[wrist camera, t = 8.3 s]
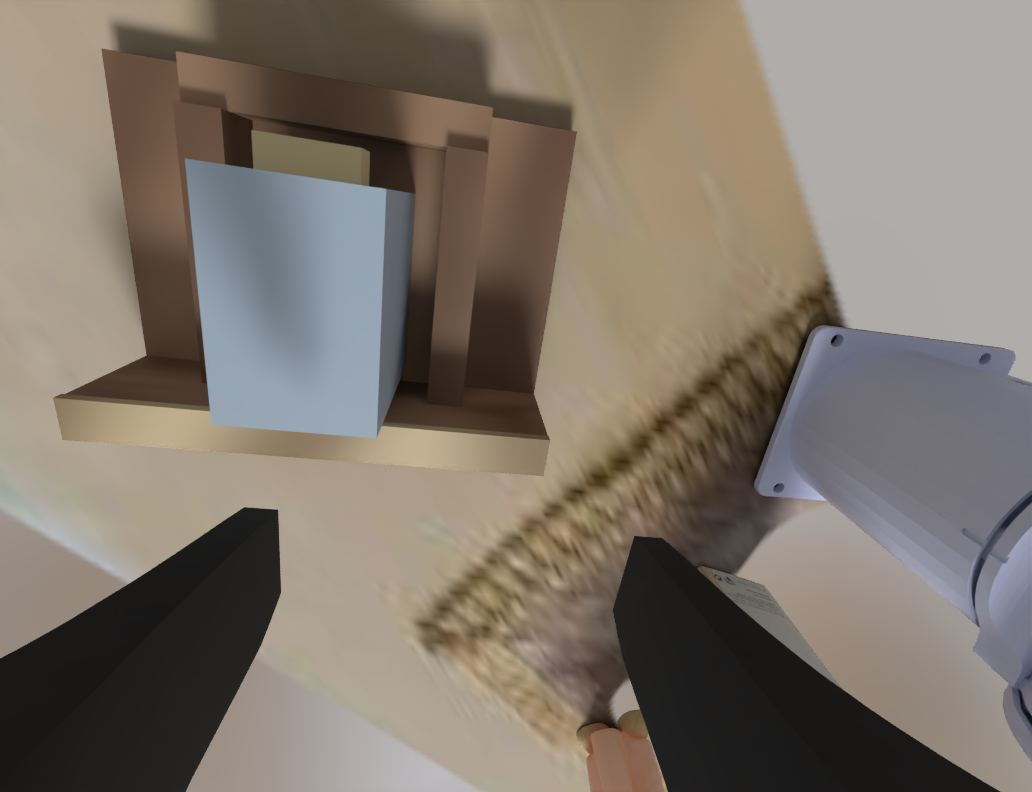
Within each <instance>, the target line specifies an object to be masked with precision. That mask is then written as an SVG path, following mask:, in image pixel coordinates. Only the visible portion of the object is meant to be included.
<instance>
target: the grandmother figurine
mask: <svg viewBox="0 0 1032 792" xmlns="http://www.w3.org/2000/svg"><path fill="white" fill-rule="evenodd" d="M618 729H619V731H618V730H617V729H614V728H608V726H606V725H605V724H603V723H593V724H590V725H587V726H584V727H583V728H581V729H580V730H579V731H578V733H577V740H578V742H579V744H580V745H581V746H582V747H583V748H584V749H585V750H586V751H587V752H588V753H589V754H590V755H589V756H588V757H587V769H588V776H589V782H590V790H591V792H664V789H663V785H662V781H661V777H660V773H659V770H658V766H657V763H656V760H655V757H654V753H653V750H652V746H651V743H650V741H649V740H648V739H646V738H647V735H648V731H647V728H646V725H645V722H644V719H643V716H642V713H641V710H633V711H629V712H627V713H625V714H623V715H622V716H621V717H620V718H619V720H618Z"/></svg>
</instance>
